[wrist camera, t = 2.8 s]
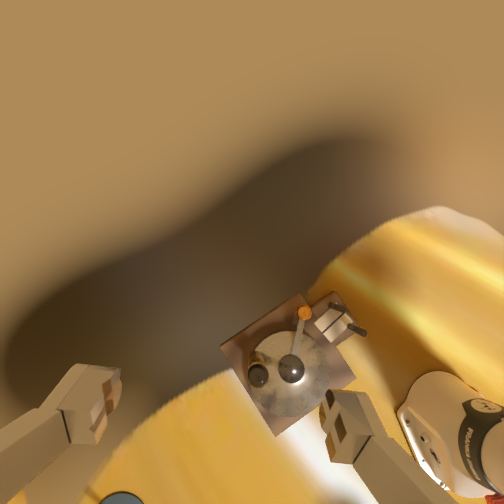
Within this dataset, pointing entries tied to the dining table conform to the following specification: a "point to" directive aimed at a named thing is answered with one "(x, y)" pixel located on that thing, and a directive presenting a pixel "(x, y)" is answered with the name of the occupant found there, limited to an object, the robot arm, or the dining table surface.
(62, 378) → the robot arm
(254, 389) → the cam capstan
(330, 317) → the stand
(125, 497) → the cocktail glass
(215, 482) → the dining table surface
